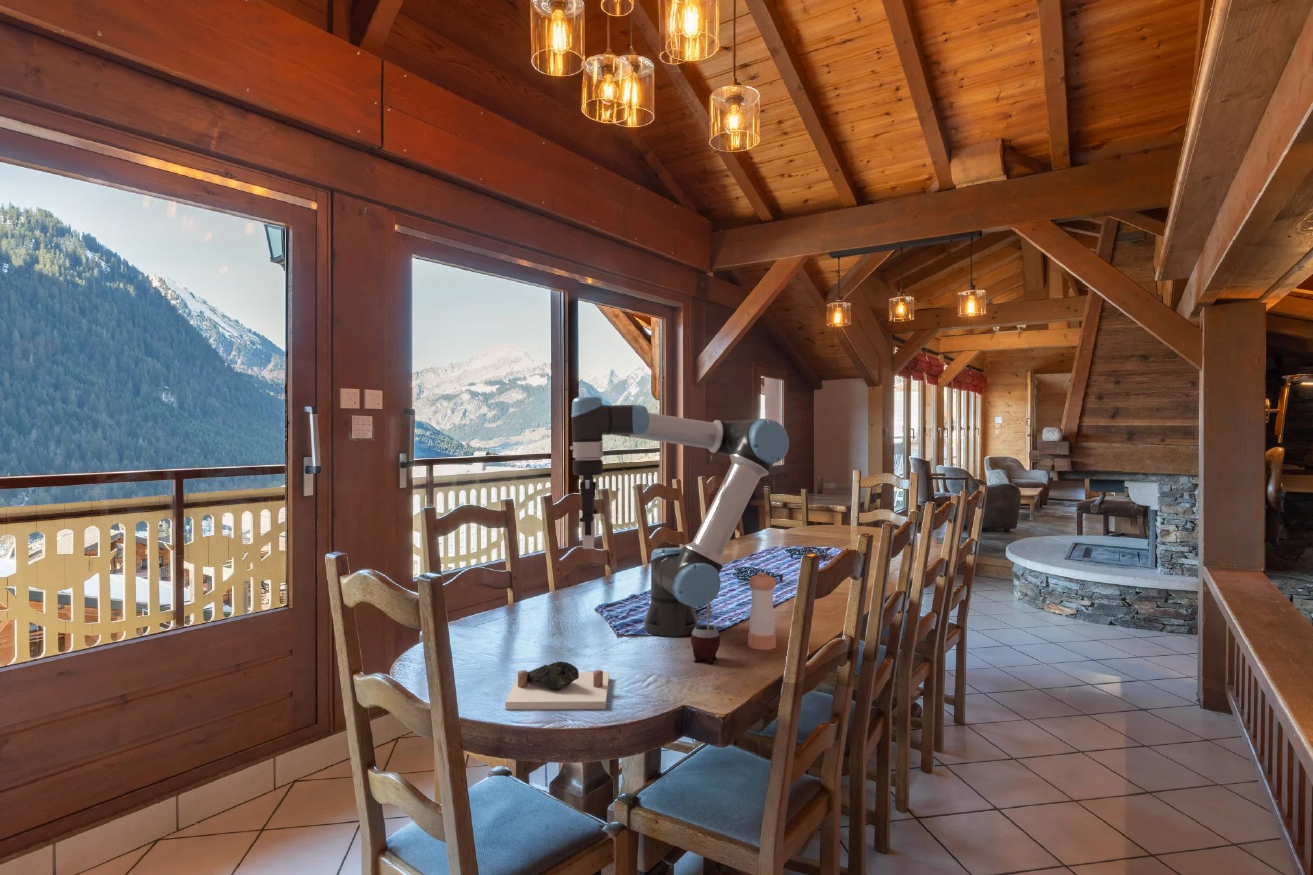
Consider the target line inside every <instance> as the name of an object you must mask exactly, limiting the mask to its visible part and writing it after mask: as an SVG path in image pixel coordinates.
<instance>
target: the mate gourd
mask: <svg viewBox="0 0 1313 875" xmlns="http://www.w3.org/2000/svg"><path fill="white" fill-rule="evenodd" d="M710 597H711V594H709V595H708V604H707V606H706V608H707V613H706V614H707V615H706V616H707V618H706V619H707V621H706V622H707V623H706V624H702V625H701V624H700V625H698V626H696V627H695V628H694V630H693V631H692V634H690V635H691V636H690V644H691V648H692V652H693V657H694V659H693V663H695V664H697V663H702V662H705V663H706V664H709V665H710V666H711V665H714V661H715V660H717V658H718V657H717V656H716V655H717V653H718V651H719V648H720V645H721V636H720V633H719V631H718V629H717V627H715V626H713V625H710V618H711V617H710V614H711V611H710V610H711V602H710Z"/></svg>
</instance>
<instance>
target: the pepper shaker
mask: <svg viewBox="0 0 1313 875" xmlns="http://www.w3.org/2000/svg"><path fill="white" fill-rule="evenodd" d="M748 585H749V587H750V588H751V607H750V612H749V622H748V624H749V626H748V627H749V630H748V632H747V647H749V648H751V649H754V650H758V651H769V650H770V651H771V650H773V649H775V648H776V647H777V633H776V630H775V628H776V617H775V611H774V609H775V608H774V589H775V588H776V585H777V582H776V579H775V578H774V577H772V576H771V575H768V574H766V573H765V572H761V571H760V572H759V574H755V575H753V576H751V578H750V579H749V581H748Z"/></svg>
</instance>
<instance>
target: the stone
mask: <svg viewBox="0 0 1313 875" xmlns="http://www.w3.org/2000/svg"><path fill="white" fill-rule="evenodd" d="M579 672H580V671H579V669H578V668H577V667H576V666H574V665H573V664H571V663H569V662H565V661H558V662H557V661H556V662H552V663H550V664H543V665H542V666H540V667H537V668H534V669H533V670H528V671H527V682H531V681H534V682H539V683H541V684H543V685H544V686H546V687H547V688H549V689H551V690H558V691H559V690H560V689H561V688H562V687H563V686H564V685H569V684H570V683H572V681H575V680H576V679H578V678H579Z"/></svg>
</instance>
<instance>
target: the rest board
mask: <svg viewBox="0 0 1313 875" xmlns="http://www.w3.org/2000/svg"><path fill="white" fill-rule="evenodd" d="M527 672H528V670H519V671H518V672H517V677H516V679H515V682H514V683H513V686H512V687H511V689H510V692H509V694H508V696H507V698H506V700H505V703H504V705H505V708H504V709H505V710H606V708H607V702H608V692H609V684H610V672H609V671H603V670H602V669H601V670H600V669H598V670H597V669H596V670H594V671H578V672H579V678H578V679H576V680H575V681H572V683H570V684H569V685H564V686H563V687H562V688H561V689H560V690H559V691H558V690H551V689H549V688H547V687H546V686H544V685H543V684H541V683H539V682H534V681H531V682H527Z"/></svg>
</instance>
